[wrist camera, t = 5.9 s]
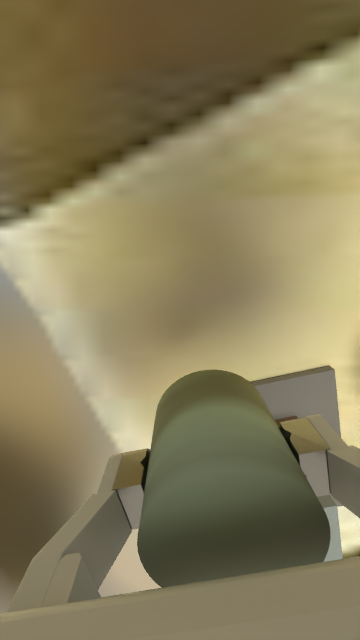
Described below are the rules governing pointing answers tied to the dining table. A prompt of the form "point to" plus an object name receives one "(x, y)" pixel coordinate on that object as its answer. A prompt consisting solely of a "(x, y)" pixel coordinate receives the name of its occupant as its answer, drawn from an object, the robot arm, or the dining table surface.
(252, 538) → the olive green cylinder
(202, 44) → the dining table surface
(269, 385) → the mat
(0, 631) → the robot arm
